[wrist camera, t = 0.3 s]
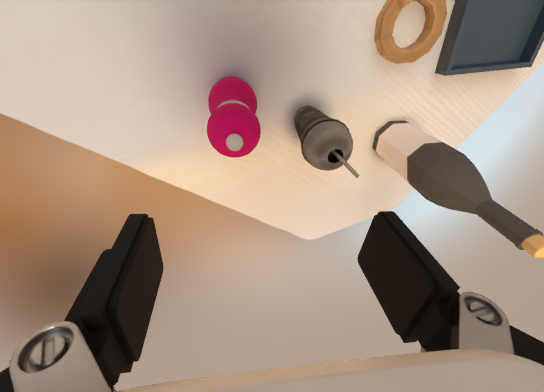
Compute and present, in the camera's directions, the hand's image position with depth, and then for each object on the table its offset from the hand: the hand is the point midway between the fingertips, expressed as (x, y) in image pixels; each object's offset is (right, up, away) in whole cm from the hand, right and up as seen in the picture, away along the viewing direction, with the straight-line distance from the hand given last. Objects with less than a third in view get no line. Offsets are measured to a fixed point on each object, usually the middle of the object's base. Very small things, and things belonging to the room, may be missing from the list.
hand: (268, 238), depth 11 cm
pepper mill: (-6, +18, +31) cm, 36 cm away
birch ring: (+21, +28, +28) cm, 45 cm away
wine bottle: (+24, +13, +39) cm, 48 cm away
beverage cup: (+6, +16, +35) cm, 39 cm away
